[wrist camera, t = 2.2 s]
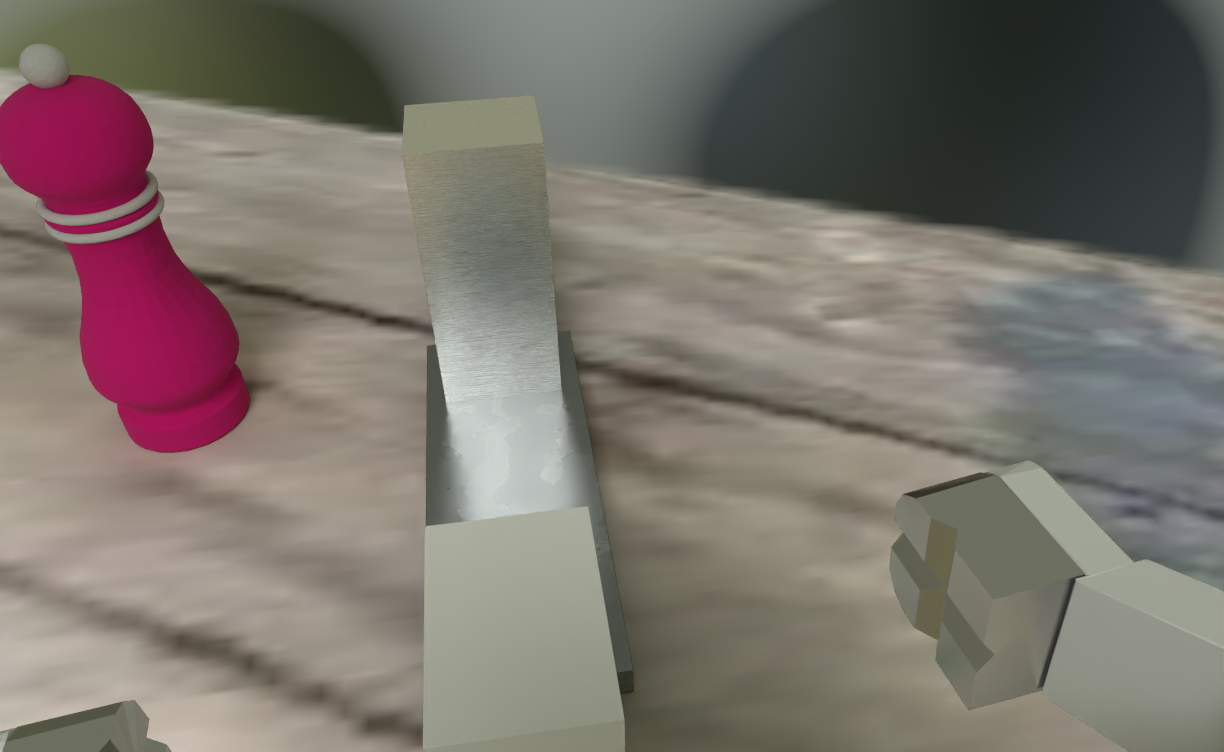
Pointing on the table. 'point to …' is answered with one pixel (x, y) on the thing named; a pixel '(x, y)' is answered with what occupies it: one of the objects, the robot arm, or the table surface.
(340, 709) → the table surface
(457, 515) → the rail
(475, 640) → the module
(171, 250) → the pepper mill
